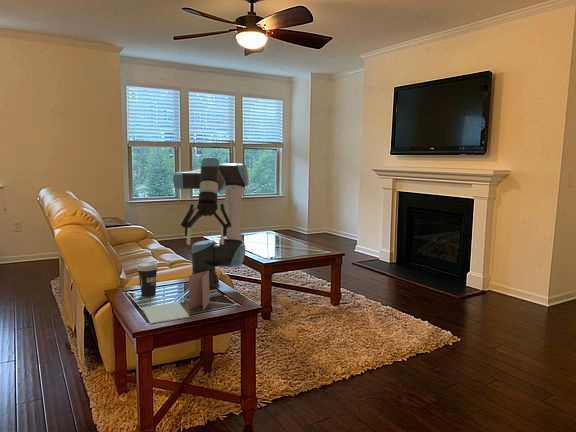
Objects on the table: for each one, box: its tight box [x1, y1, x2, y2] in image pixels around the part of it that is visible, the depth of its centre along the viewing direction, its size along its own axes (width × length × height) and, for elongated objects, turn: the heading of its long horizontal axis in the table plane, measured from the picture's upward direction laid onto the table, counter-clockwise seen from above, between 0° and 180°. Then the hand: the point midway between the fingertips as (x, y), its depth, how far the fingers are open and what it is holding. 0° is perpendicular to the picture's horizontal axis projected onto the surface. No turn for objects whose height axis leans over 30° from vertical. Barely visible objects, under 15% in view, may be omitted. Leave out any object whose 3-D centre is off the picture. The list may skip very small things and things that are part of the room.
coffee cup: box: [136, 261, 159, 297], centre depth 214 cm, size 10×10×15 cm
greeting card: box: [188, 270, 211, 311], centre depth 197 cm, size 11×7×15 cm, turn 141°
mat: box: [141, 301, 191, 325], centre depth 191 cm, size 20×16×1 cm
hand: (205, 244), depth 177 cm, fingers open, 13 cm apart
